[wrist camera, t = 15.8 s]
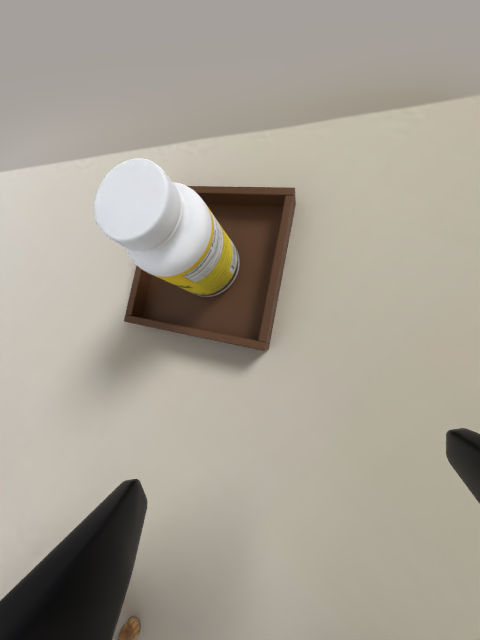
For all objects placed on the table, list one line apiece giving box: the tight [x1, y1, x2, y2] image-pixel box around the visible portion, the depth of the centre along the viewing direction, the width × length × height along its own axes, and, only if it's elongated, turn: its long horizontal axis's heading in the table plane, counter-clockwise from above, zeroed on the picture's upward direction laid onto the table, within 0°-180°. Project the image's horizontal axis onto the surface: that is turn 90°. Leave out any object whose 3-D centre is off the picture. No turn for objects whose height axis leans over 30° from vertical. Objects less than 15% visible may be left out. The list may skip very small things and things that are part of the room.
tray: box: [124, 186, 296, 350], centre depth 20 cm, size 12×12×2 cm
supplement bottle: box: [94, 158, 239, 297], centre depth 15 cm, size 5×5×10 cm
